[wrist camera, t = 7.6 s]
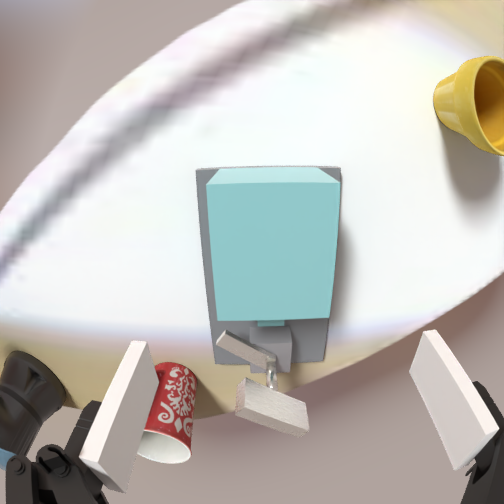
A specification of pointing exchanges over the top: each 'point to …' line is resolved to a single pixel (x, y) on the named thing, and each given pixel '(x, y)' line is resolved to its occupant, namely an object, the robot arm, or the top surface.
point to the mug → (170, 416)
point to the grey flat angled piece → (264, 391)
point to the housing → (266, 337)
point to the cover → (273, 243)
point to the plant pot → (475, 102)
